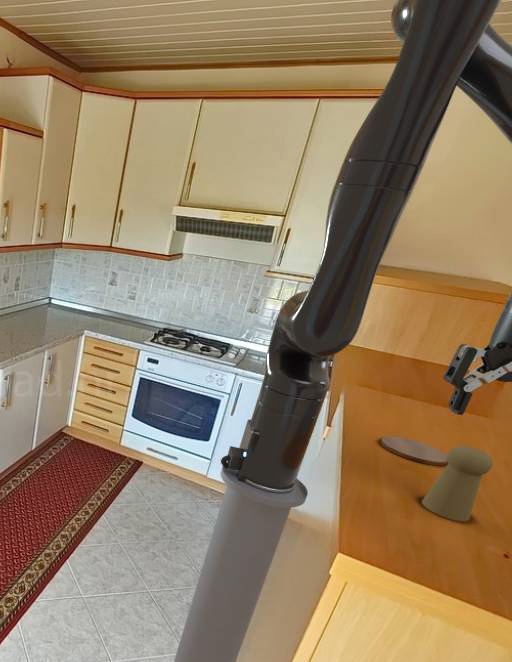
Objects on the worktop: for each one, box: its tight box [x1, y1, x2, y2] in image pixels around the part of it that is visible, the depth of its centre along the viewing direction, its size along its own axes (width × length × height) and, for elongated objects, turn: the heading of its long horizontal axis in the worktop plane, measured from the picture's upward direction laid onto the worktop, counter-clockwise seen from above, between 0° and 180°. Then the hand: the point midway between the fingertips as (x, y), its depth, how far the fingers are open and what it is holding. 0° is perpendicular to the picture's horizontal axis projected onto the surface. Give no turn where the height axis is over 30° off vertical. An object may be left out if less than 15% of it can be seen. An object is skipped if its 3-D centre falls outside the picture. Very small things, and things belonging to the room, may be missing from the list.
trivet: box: [380, 435, 448, 466], centre depth 100 cm, size 11×11×1 cm
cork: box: [421, 445, 494, 522], centre depth 78 cm, size 6×6×11 cm
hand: (489, 418), depth 74 cm, fingers open, 8 cm apart
